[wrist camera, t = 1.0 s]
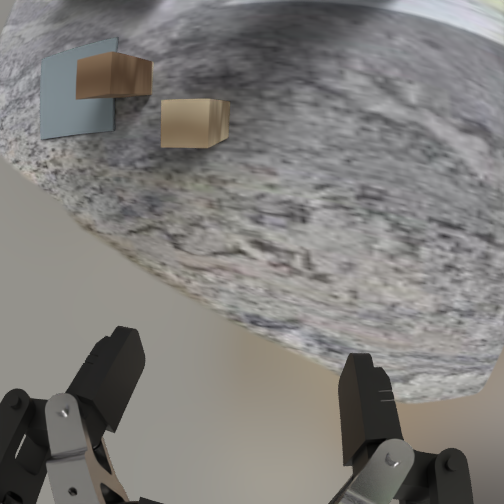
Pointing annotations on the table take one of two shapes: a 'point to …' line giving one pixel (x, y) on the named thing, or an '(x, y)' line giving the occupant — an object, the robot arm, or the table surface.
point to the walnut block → (113, 76)
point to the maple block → (194, 122)
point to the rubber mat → (72, 95)
